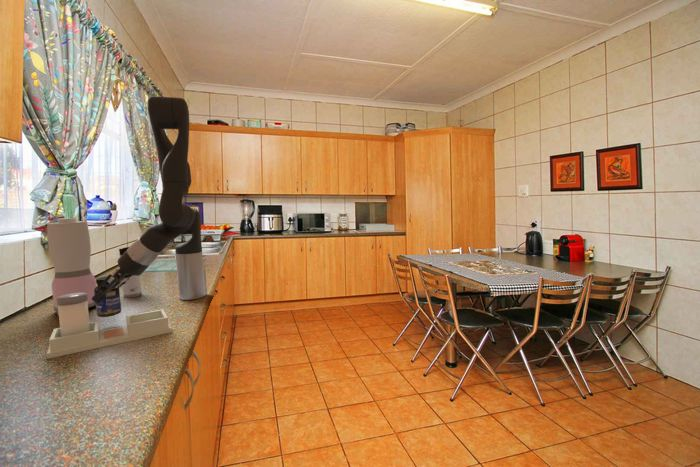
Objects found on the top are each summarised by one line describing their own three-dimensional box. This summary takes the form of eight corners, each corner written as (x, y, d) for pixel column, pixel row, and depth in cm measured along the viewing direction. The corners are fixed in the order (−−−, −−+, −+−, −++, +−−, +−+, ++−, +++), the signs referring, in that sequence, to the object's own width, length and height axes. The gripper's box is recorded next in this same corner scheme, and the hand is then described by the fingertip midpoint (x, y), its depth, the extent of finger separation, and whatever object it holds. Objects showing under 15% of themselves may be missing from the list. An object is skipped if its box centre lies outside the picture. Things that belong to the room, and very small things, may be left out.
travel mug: (136, 297, 139) (131, 246, 137) (119, 297, 139) (114, 247, 137) (145, 293, 145) (141, 244, 143) (129, 293, 145) (125, 244, 143)
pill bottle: (109, 318, 102) (105, 280, 101) (91, 317, 104) (87, 280, 102) (126, 310, 108) (122, 275, 107) (109, 310, 110) (105, 275, 108)
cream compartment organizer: (166, 321, 109) (163, 279, 108) (172, 332, 100) (168, 286, 99) (52, 344, 94) (46, 295, 93) (47, 358, 85) (40, 304, 84)
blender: (90, 312, 121) (80, 218, 118) (47, 317, 117) (35, 220, 114) (106, 300, 136) (98, 216, 132) (68, 304, 132) (58, 218, 129)
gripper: (140, 244, 112) (104, 283, 112) (116, 251, 97) (74, 296, 97) (160, 259, 113) (124, 298, 113) (139, 269, 99) (98, 314, 99)
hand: (101, 297), depth 105 cm, fingers closed on pill bottle, 6 cm apart
